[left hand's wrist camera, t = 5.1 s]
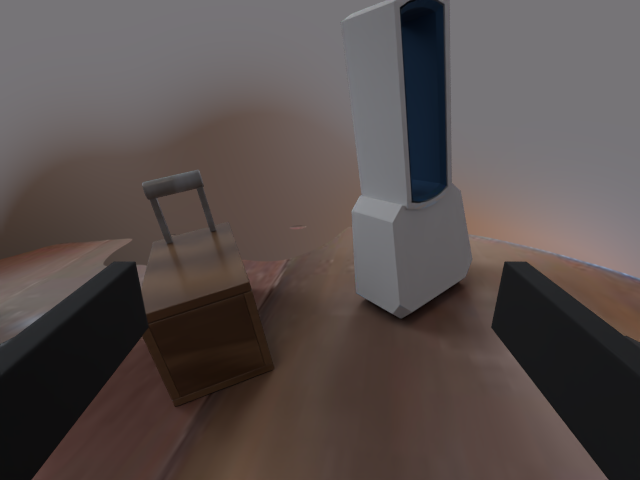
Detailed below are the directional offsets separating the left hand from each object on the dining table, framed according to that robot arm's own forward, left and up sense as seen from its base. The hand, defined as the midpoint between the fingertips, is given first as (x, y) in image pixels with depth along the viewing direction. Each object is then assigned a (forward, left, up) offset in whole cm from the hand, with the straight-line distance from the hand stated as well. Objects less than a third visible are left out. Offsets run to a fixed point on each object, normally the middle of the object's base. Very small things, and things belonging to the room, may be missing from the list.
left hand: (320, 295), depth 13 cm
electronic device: (+5, -26, -18) cm, 32 cm away
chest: (+24, -12, -18) cm, 32 cm away
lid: (+24, -12, -9) cm, 29 cm away
